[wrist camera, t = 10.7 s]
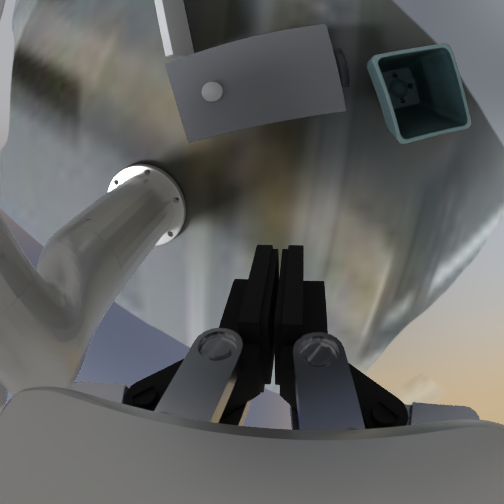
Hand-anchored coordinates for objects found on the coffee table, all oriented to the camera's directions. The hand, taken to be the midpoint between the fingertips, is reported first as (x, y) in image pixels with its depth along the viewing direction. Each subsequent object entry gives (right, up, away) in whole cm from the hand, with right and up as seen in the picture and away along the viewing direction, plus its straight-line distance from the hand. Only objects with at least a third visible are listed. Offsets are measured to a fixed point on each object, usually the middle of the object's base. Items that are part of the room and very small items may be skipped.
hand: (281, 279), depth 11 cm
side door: (-10, +30, +15) cm, 35 cm away
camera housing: (0, +21, +19) cm, 28 cm away
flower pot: (+16, +20, +17) cm, 31 cm away
